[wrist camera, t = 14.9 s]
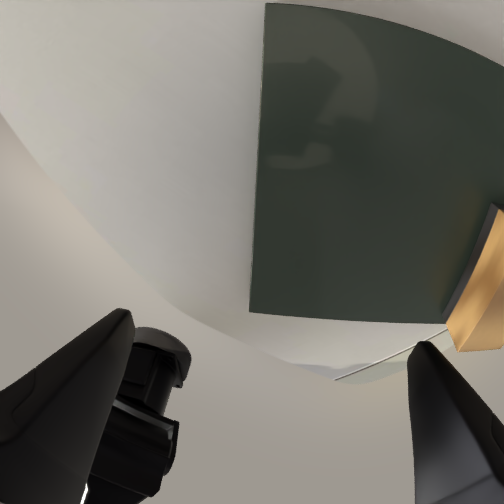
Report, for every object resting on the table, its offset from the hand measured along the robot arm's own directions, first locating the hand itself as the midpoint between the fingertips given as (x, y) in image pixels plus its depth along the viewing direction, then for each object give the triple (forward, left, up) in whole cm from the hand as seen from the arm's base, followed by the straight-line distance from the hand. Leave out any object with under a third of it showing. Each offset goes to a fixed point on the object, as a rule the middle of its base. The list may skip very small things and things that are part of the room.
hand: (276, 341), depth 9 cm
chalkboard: (+1, -8, -12) cm, 14 cm away
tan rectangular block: (-3, -16, -10) cm, 19 cm away
